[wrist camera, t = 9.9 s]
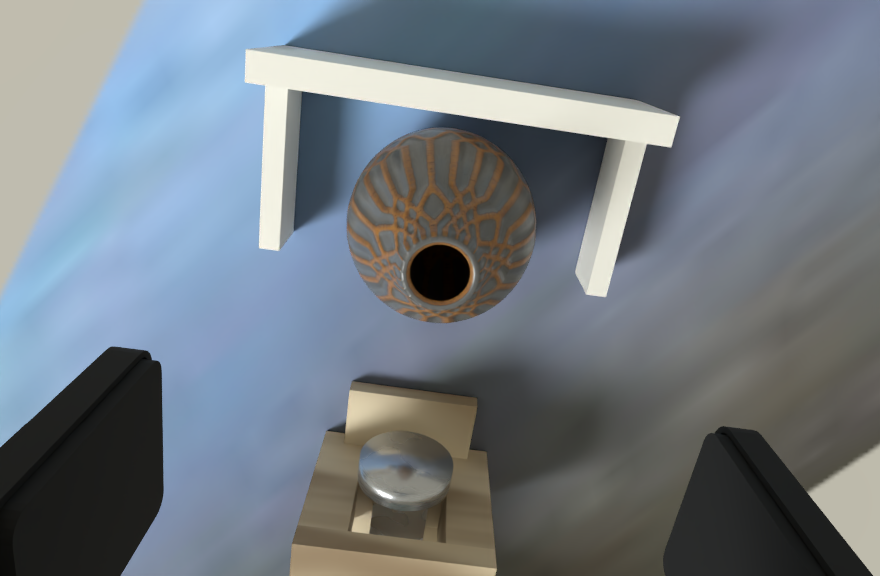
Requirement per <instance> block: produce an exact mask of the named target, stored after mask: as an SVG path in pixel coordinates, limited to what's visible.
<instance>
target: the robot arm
mask: <svg viewBox="0 0 880 576" xmlns="http://www.w3.org/2000/svg"><path fill="white" fill-rule="evenodd" d="M163 490H164V488H163V428H162V370H161V364H160V362H159V361H154V360H152V358H151V355H150V353H149V352H148V351H144V350H137V349H129V348H121V347H110V348H108V349H107V350H106V351H105V352H104V353H102V354H101V355H100V356H99V357H98V358H97V359H96V360H95V361H94V362H93V363H92V364H91V365H90V366H88V367H87V368H86V369H85V370H84V371H83V372H82V373H81V374H80V375H79V376H78V377H77V378H76V379H74V380H73V381H72V382H71V383H70V384H69V385H68V386H67V387H66V388H65V389H64V390H63V391H61V392H60V393H59V394H58V395H57V396H56V397H55V398H54V399H53V400H52V401H51V402H50V403H49V404H47V405H46V406H45V407H44V408H43V409H42V410H41V411H40V412H39V413H38V414H37V415H36V416H35V417H33V418H32V419H31V420H30V421H29V422H28V423H27V424H25V425H24V426H23V427H22V428H21V429H20V430H19V431H18V432H17V433H15V434H14V435H13V436H12V437H11V438H10V439H9V440H8V441H7V442H6V443H5V444H4V445H2V446H1V447H0V576H120V575H121V574H122V572H123V570H124V569H125V567H126V566H127V564H128V562H129V561H130V559H131V557H132V556H133V554H134V552H135V551H136V549H137V547H138V546H139V544H140V542H141V541H142V539H143V537H144V536H145V534H146V532H147V531H148V529H149V527H150V526H151V524H152V522H153V521H154V519H155V517H156V516H157V514H158V512H159V509H160V506H161V503H162V499H163ZM663 566H664V572H665V575H666V576H873V575H872V574H871V572H870V571H869V570H868V569H867V567H866V566H865V565H864V564H863V562H862V561H861V560H860V559H859V558H858V556H857V555H856V554H855V552H854V551H853V550H852V549H851V547H850V546H849V545H848V544H847V542H846V541H845V540H844V539H843V537H842V536H841V535H840V534H839V532H838V531H837V530H836V529H835V527H834V526H833V525H832V524H831V522H830V521H829V520H828V518H827V517H826V516H825V515H824V514H823V512H822V511H821V510H820V509H819V507H818V506H817V505H816V503H815V502H814V501H813V500H812V498H811V497H810V496H809V495H808V493H807V492H806V491H805V490H804V488H803V487H802V486H801V485H800V483H799V482H798V481H797V480H796V478H795V477H794V476H793V474H792V473H791V472H790V471H789V469H788V468H787V467H786V466H785V464H784V463H783V462H782V461H781V459H780V458H779V457H778V456H777V454H776V453H775V452H774V451H773V449H772V448H771V447H770V446H769V444H768V443H767V442H766V441H765V439H764V438H763V437H762V436H761V434H759V433H758V432H757V431H754V430H747V429H740V428H732V427H724V426H723V427H720V428H718V430H717V431H716V432H715V434H714V433H710V434H708V435H707V436H706V438H705V440H704V442H703V445H702V448H701V451H700V453H699V456H698V459H697V462H696V465H695V467H694V470H693V473H692V476H691V479H690V481H689V484H688V487H687V490H686V493H685V495H684V498H683V501H682V504H681V507H680V509H679V512H678V515H677V518H676V521H675V524H674V526H673V529H672V532H671V535H670V538H669V540H668V543H667V546H666V549H665V552H664V558H663Z"/></svg>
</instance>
